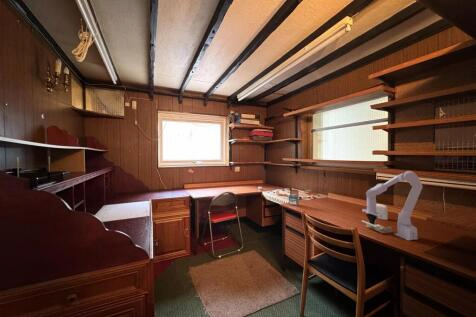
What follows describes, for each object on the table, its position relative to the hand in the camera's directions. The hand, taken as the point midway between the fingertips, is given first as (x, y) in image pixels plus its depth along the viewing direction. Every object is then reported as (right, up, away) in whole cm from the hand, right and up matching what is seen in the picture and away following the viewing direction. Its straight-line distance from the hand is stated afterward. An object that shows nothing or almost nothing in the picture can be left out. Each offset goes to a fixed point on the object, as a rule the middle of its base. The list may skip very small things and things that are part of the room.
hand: (372, 224), depth 134 cm
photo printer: (+23, -3, +22) cm, 33 cm away
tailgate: (+2, -3, 0) cm, 3 cm away
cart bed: (+6, -4, +1) cm, 7 cm away
